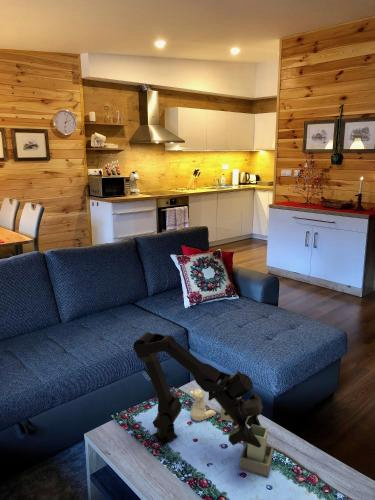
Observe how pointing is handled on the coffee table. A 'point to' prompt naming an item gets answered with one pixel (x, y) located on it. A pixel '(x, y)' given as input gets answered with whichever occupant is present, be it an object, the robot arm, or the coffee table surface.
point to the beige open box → (260, 452)
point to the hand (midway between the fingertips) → (261, 441)
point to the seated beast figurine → (200, 406)
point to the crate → (256, 466)
